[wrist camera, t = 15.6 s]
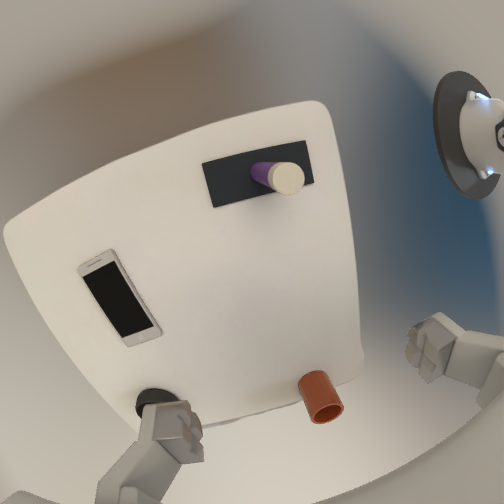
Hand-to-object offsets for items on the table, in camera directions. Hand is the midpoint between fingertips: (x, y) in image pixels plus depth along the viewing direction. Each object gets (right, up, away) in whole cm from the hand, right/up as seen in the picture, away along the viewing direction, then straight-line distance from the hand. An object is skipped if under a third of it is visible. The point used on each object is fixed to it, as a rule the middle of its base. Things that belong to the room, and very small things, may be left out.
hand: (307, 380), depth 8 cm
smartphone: (-22, -3, +30) cm, 37 cm away
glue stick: (-1, +15, +26) cm, 30 cm away
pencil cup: (+10, -21, +41) cm, 47 cm away
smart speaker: (-20, -25, +38) cm, 50 cm away
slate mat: (-1, +15, +27) cm, 30 cm away
